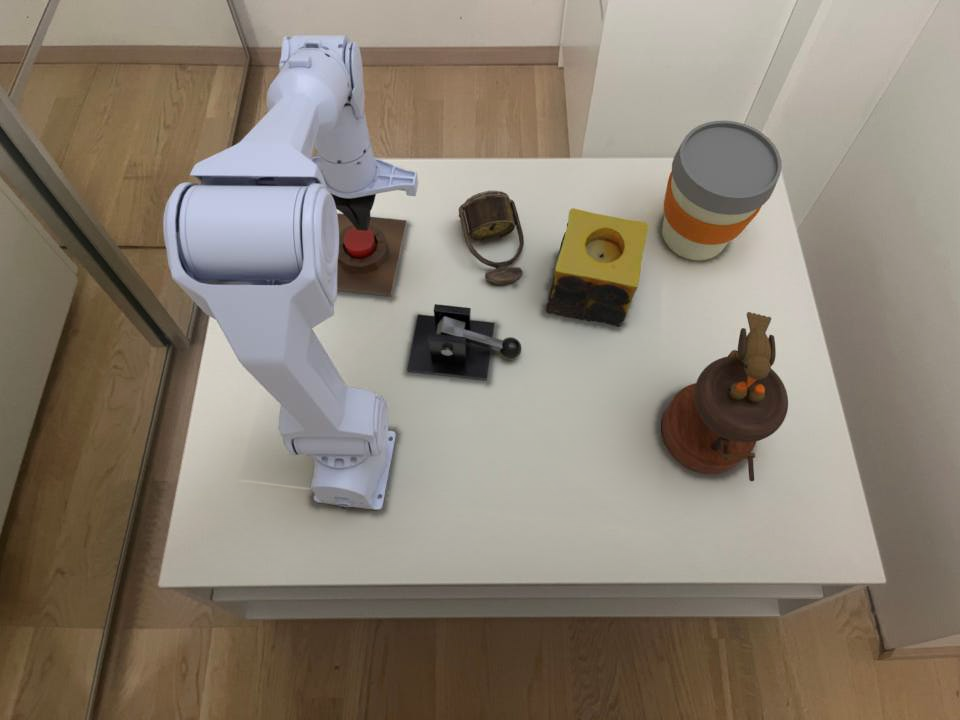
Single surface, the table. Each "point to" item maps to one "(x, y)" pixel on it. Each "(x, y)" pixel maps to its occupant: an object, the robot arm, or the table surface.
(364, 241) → the button
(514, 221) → the brown desk clock
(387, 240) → the button block
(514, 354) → the lever
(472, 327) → the bracket
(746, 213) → the reusable coffee cup
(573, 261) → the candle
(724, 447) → the music box
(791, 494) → the table surface
